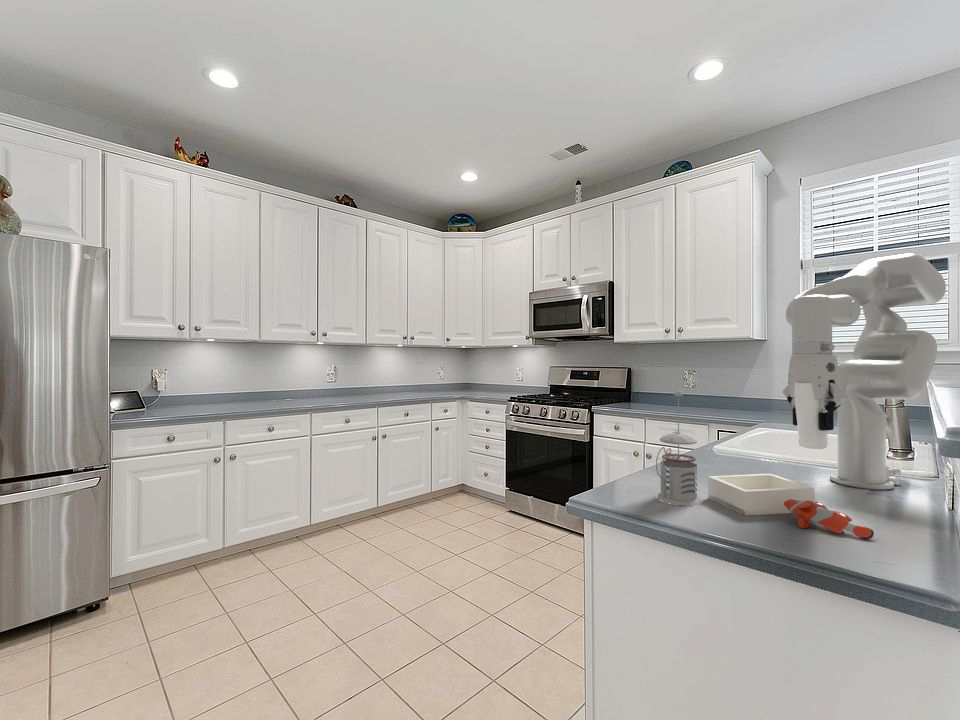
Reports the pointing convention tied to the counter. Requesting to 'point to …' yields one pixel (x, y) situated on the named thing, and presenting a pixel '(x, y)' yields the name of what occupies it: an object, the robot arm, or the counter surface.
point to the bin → (757, 493)
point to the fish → (825, 518)
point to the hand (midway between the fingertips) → (812, 426)
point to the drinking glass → (809, 417)
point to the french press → (678, 470)
